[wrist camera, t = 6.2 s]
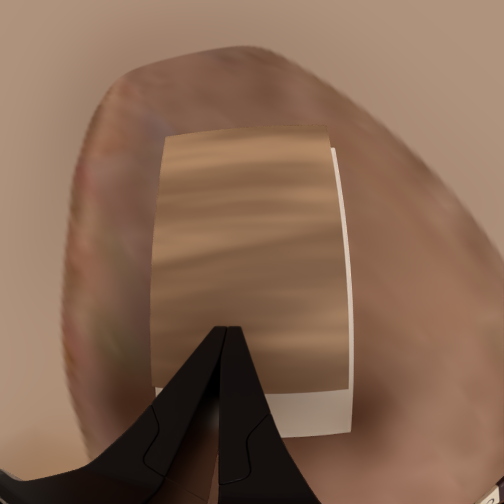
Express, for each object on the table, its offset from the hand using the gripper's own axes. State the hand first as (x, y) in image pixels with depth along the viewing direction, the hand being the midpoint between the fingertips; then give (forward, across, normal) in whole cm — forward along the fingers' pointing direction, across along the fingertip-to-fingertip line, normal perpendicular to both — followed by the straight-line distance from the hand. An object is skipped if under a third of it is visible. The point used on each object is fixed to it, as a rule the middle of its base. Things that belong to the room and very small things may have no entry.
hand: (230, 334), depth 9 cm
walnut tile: (+1, 0, +6) cm, 6 cm away
